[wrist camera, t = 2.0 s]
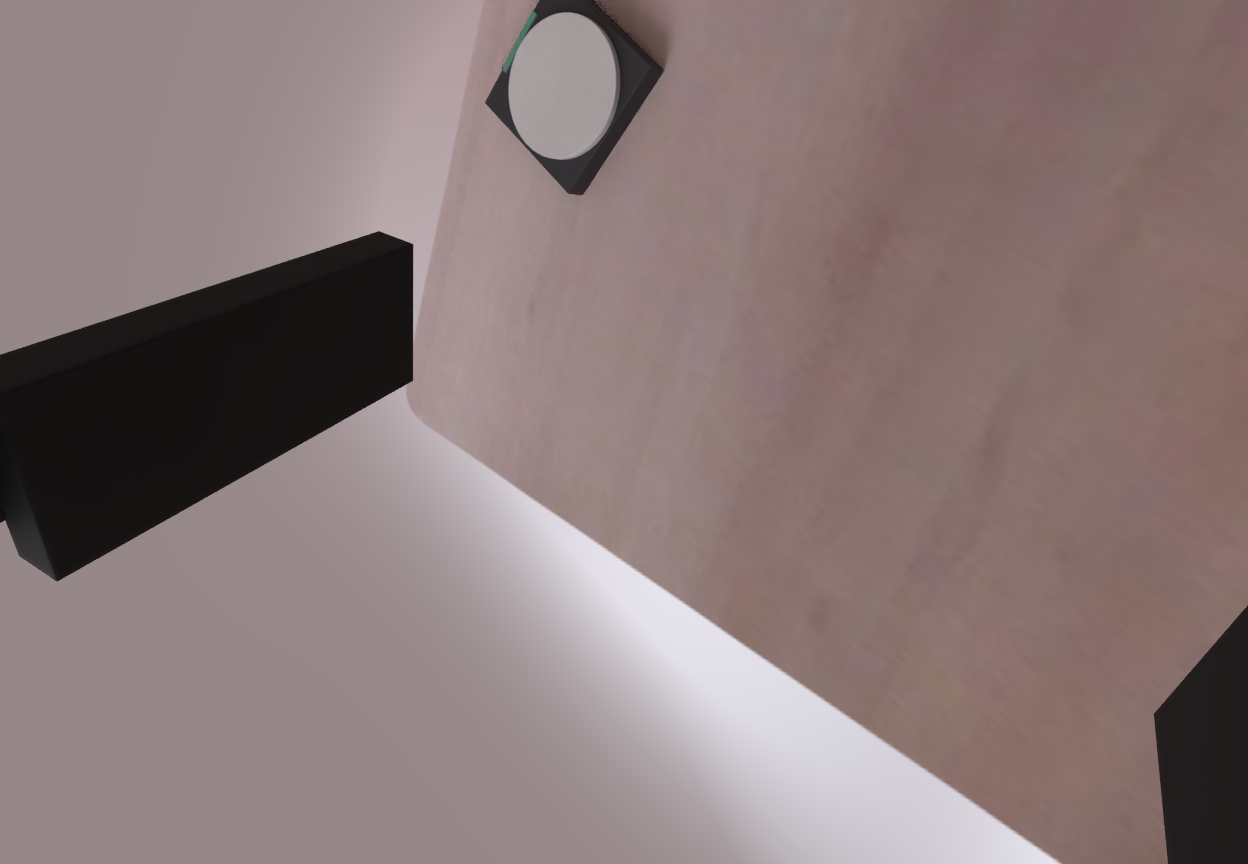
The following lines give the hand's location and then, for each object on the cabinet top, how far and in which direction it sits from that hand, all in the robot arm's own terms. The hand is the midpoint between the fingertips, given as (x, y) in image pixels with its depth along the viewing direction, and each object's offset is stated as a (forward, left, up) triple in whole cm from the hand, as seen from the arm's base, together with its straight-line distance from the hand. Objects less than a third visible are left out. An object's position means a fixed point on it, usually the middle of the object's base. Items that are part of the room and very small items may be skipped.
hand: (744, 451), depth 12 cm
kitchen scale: (+8, -28, -31) cm, 43 cm away
